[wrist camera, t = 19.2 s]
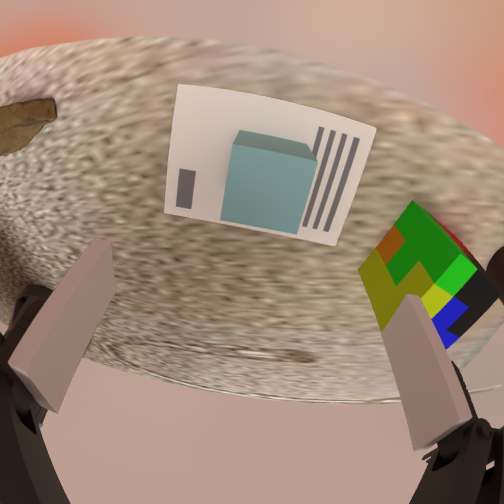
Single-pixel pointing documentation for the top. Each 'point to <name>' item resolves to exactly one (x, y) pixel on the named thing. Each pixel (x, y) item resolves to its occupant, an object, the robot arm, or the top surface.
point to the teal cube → (268, 182)
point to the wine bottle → (497, 271)
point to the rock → (23, 123)
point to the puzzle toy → (427, 275)
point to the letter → (269, 123)
